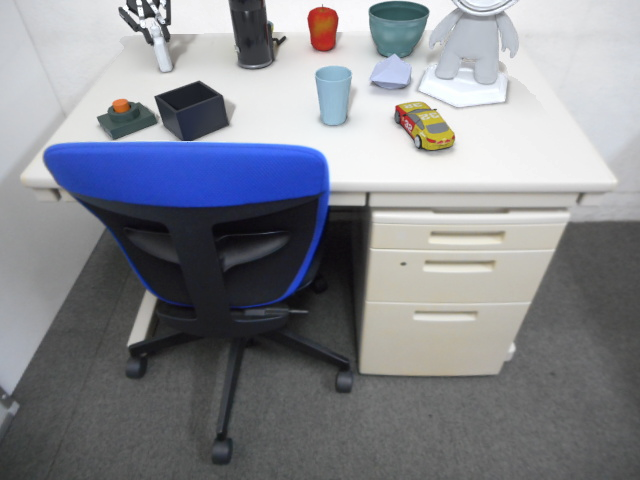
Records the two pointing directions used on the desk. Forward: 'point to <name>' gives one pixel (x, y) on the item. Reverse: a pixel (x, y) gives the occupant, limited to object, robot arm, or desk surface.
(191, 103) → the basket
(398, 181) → the desk surface
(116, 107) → the button
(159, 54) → the eye dropper bottle
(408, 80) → the wedge on round base
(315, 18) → the apple
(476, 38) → the white toy figurine
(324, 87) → the cup
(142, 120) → the control block
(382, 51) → the flower pot
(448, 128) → the toy car
